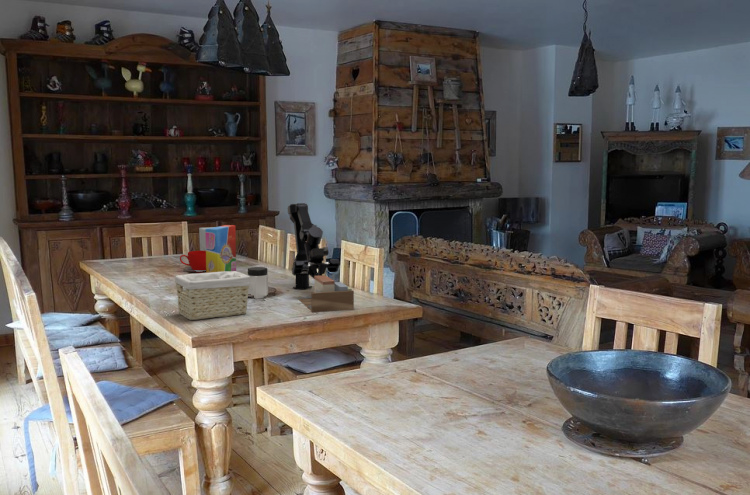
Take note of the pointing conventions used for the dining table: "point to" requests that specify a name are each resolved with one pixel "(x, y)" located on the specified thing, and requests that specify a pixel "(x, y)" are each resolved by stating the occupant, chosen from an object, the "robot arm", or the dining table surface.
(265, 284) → the jar
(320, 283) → the boxed book
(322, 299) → the shelf
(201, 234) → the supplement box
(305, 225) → the robot arm
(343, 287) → the small books
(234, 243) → the game box
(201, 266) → the ceramic cup
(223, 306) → the storage basket
